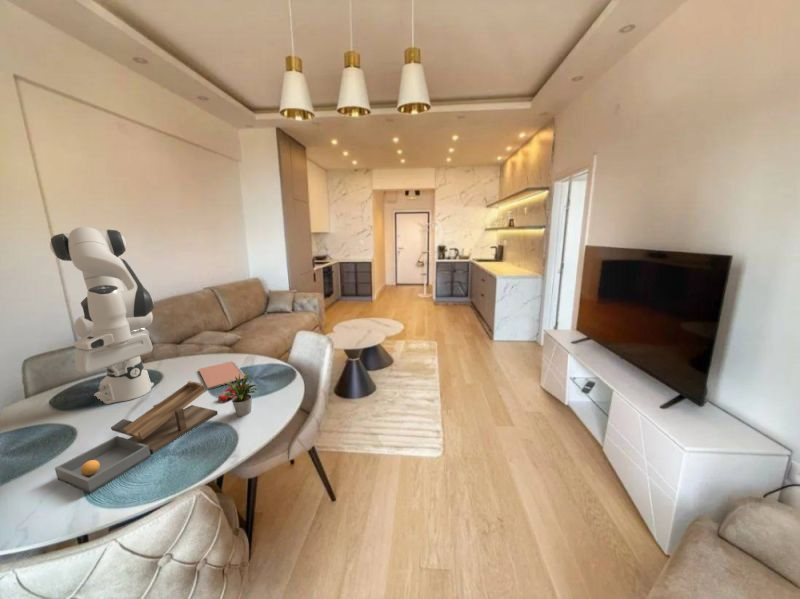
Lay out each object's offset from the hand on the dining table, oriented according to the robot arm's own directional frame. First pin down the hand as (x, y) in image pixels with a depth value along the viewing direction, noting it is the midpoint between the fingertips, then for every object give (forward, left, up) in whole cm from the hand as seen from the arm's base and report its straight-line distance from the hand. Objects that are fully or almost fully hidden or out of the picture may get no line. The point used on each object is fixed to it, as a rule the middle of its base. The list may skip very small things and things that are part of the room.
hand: (121, 374), depth 107 cm
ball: (+9, -16, -21) cm, 28 cm away
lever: (+5, +8, -17) cm, 19 cm away
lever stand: (+9, +7, -24) cm, 26 cm away
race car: (+9, +34, -24) cm, 43 cm away
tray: (+9, -13, -24) cm, 28 cm away
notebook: (-13, +48, -25) cm, 56 cm away
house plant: (+25, +23, -24) cm, 41 cm away
